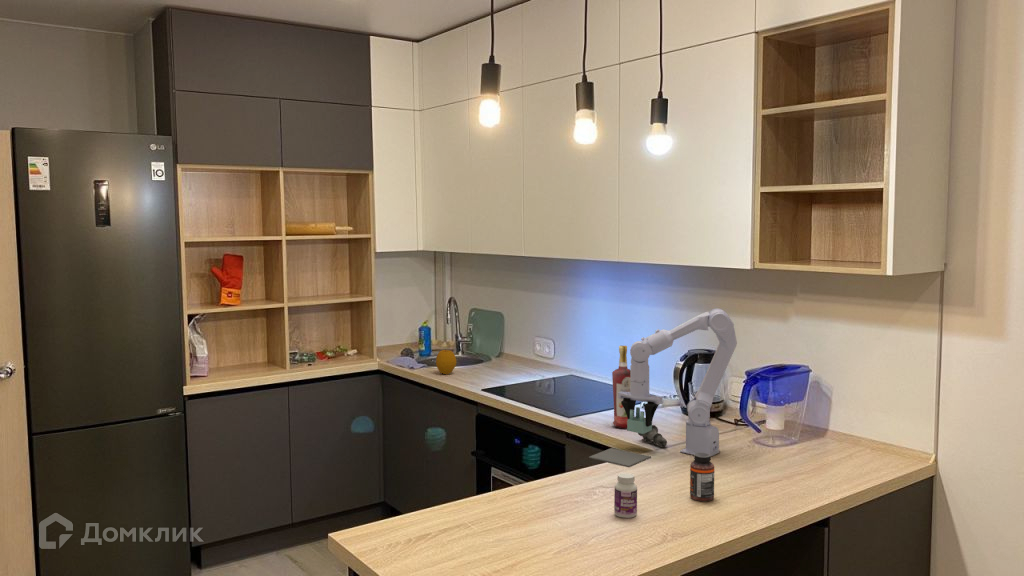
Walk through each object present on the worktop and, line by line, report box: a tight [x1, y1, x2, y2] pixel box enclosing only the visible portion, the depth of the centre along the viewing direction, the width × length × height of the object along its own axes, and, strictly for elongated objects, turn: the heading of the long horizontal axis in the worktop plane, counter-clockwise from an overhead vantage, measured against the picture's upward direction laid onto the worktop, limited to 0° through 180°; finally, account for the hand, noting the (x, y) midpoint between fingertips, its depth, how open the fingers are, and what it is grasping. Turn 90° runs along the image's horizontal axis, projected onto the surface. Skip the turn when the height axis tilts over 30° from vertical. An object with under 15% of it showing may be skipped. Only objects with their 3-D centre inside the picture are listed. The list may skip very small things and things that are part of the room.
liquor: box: [611, 345, 631, 430], centre depth 269 cm, size 7×7×28 cm
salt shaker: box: [637, 424, 668, 448], centre depth 248 cm, size 6×6×12 cm
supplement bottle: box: [689, 453, 715, 502], centre depth 199 cm, size 6×6×11 cm
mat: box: [588, 447, 652, 468], centre depth 234 cm, size 14×12×1 cm
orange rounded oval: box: [435, 349, 457, 375], centre depth 369 cm, size 10×10×12 cm
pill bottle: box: [613, 472, 638, 519], centre depth 188 cm, size 5×5×10 cm
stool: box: [626, 406, 653, 434], centre depth 242 cm, size 6×6×6 cm
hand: (639, 424), depth 242 cm, fingers closed on stool, 5 cm apart
